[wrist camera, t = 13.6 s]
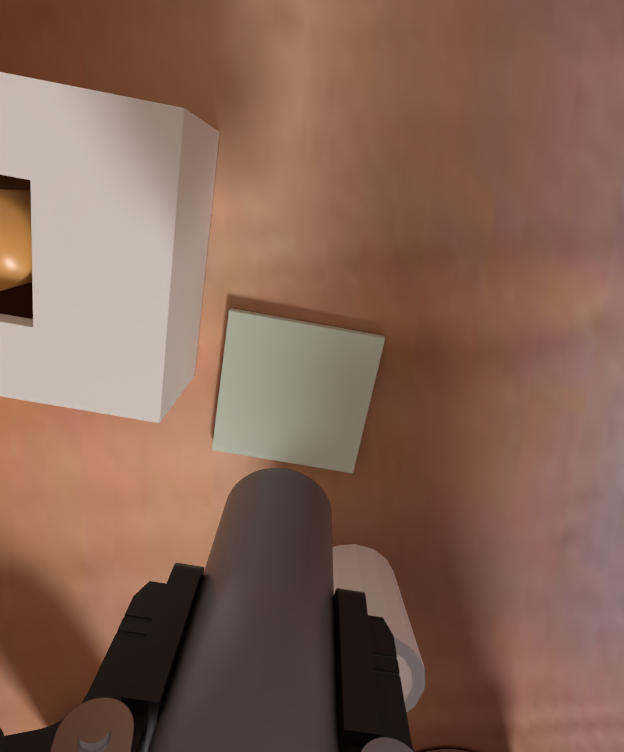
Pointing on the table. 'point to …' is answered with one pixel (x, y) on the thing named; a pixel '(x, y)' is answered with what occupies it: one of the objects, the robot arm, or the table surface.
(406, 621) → the white cylindrical tub
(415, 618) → the table surface
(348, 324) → the table surface
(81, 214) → the box
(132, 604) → the robot arm
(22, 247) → the button
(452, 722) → the table surface
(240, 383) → the pad
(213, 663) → the rod
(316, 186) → the table surface
